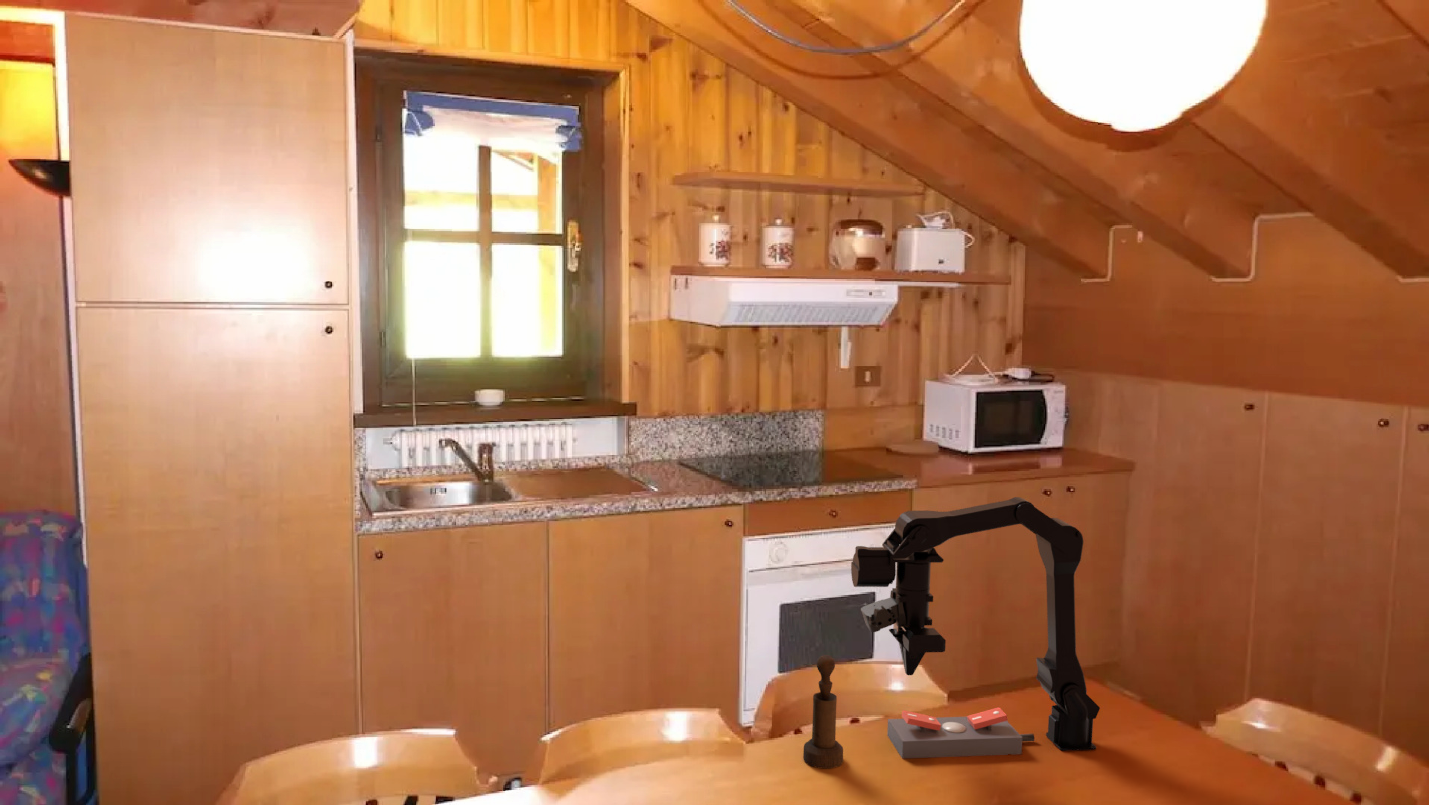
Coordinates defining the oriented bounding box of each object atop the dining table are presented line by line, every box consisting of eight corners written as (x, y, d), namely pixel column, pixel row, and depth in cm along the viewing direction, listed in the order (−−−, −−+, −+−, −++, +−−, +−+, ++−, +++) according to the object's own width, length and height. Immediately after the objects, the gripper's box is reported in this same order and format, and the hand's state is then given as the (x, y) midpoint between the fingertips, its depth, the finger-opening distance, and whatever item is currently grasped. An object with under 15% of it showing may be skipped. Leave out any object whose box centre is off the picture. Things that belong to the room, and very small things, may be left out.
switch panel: (1022, 730, 183) (1023, 711, 183) (1043, 753, 175) (1044, 733, 174) (887, 735, 181) (888, 715, 180) (902, 758, 172) (902, 738, 171)
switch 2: (1000, 712, 180) (998, 706, 179) (1007, 720, 176) (1006, 714, 176) (967, 721, 179) (966, 715, 179) (974, 729, 176) (973, 723, 176)
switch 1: (933, 722, 178) (935, 716, 178) (939, 730, 175) (941, 725, 175) (901, 715, 178) (903, 709, 177) (907, 723, 174) (908, 717, 174)
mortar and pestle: (842, 752, 174) (845, 650, 172) (843, 770, 167) (846, 664, 165) (803, 750, 174) (806, 648, 172) (802, 767, 168) (805, 662, 166)
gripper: (853, 571, 182) (850, 656, 184) (881, 603, 163) (877, 697, 165) (913, 571, 183) (910, 655, 185) (948, 602, 165) (944, 695, 166)
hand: (909, 674), depth 175 cm, fingers closed
